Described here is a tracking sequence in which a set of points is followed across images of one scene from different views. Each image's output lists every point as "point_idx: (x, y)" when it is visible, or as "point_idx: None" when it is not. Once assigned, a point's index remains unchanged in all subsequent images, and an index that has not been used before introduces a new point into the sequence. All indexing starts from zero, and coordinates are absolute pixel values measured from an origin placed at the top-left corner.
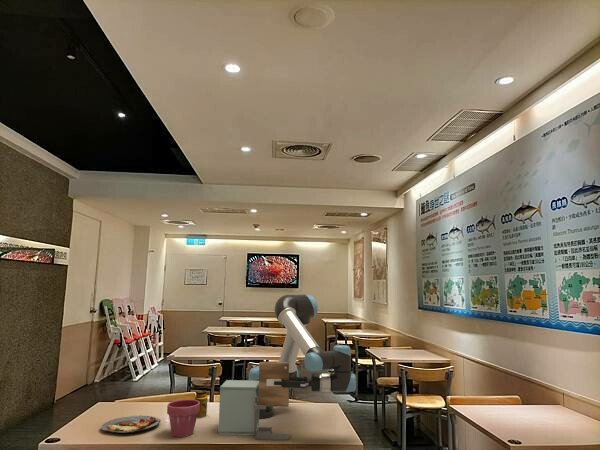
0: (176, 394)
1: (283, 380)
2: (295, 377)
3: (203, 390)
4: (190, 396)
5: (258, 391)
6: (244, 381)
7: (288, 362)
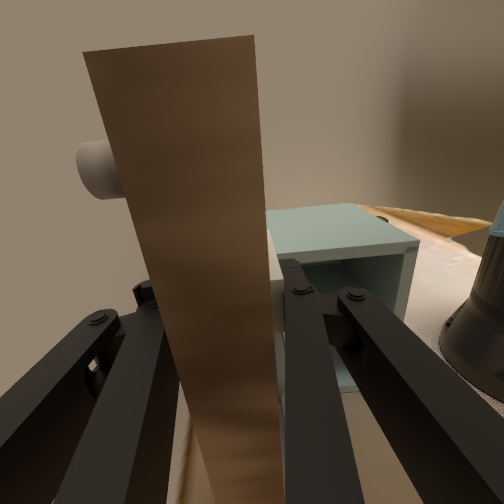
0: (458, 218)
1: (144, 308)
2: (446, 441)
3: (385, 218)
4: (471, 229)
5: (396, 282)
6: (360, 220)
7: (233, 42)
